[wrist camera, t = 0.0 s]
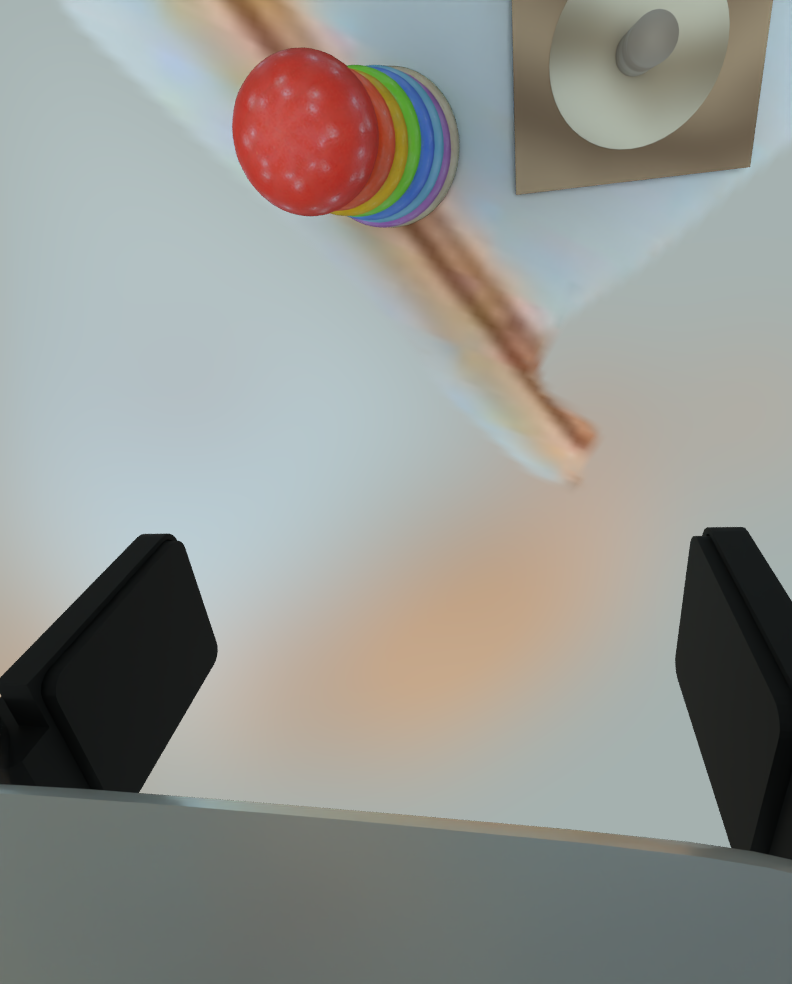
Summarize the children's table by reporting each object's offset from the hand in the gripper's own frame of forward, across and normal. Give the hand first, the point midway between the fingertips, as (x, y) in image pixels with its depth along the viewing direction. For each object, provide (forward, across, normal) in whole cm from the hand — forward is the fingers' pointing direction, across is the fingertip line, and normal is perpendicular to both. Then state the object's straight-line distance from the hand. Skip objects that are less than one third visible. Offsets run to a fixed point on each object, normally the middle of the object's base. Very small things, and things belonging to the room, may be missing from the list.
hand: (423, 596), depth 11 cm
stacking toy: (+31, +5, -8) cm, 33 cm away
